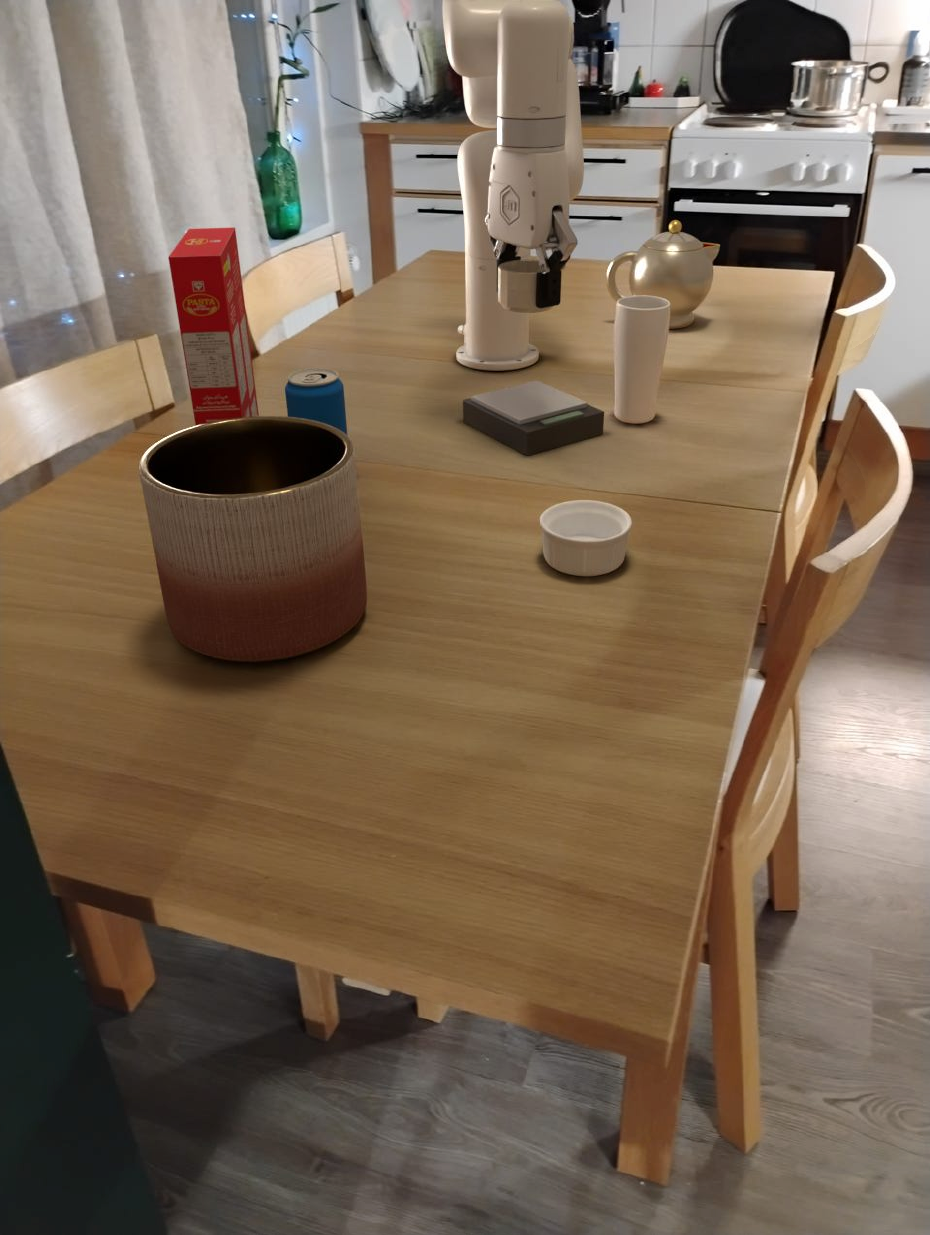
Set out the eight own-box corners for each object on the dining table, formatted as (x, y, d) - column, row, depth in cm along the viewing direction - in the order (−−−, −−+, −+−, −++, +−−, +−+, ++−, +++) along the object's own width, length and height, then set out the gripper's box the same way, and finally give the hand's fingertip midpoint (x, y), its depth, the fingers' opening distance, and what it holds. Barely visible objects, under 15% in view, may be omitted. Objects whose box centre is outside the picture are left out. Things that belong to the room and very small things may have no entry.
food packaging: (219, 433, 129) (188, 228, 116) (260, 432, 129) (235, 227, 116) (204, 481, 116) (168, 257, 103) (250, 478, 117) (220, 255, 104)
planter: (387, 650, 86) (376, 480, 77) (174, 687, 82) (138, 512, 73) (348, 556, 100) (335, 404, 92) (165, 583, 96) (134, 427, 88)
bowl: (486, 304, 121) (486, 264, 118) (533, 295, 124) (534, 256, 122) (521, 317, 116) (522, 276, 113) (569, 307, 119) (570, 267, 117)
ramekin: (605, 589, 94) (607, 548, 92) (522, 566, 98) (523, 526, 96) (643, 551, 100) (646, 511, 98) (564, 530, 104) (565, 492, 102)
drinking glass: (659, 428, 128) (670, 310, 120) (606, 425, 129) (613, 308, 122) (661, 410, 134) (672, 296, 126) (610, 407, 135) (617, 294, 127)
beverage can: (359, 468, 119) (352, 369, 112) (336, 490, 114) (326, 388, 107) (310, 462, 121) (300, 364, 114) (284, 483, 115) (273, 382, 109)
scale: (463, 421, 131) (462, 395, 129) (536, 403, 137) (536, 377, 135) (527, 455, 121) (527, 427, 120) (603, 434, 127) (604, 407, 125)
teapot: (704, 312, 174) (715, 211, 166) (717, 334, 163) (730, 228, 154) (600, 312, 175) (606, 212, 167) (606, 334, 164) (612, 229, 155)
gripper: (459, 129, 114) (461, 289, 124) (552, 145, 102) (547, 321, 112) (512, 124, 118) (510, 280, 127) (609, 139, 106) (599, 310, 115)
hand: (527, 298), depth 119 cm, fingers closed on bowl, 7 cm apart
